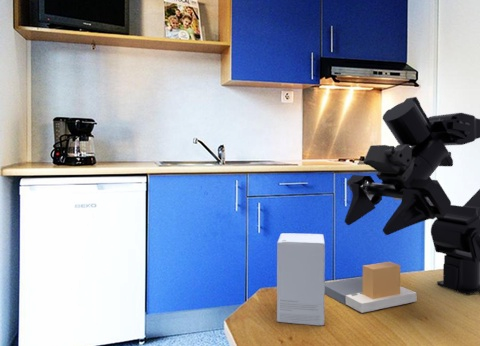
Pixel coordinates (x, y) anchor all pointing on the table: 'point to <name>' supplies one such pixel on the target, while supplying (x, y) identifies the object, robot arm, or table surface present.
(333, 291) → the board
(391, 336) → the table surface
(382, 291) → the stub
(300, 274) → the supplement box
